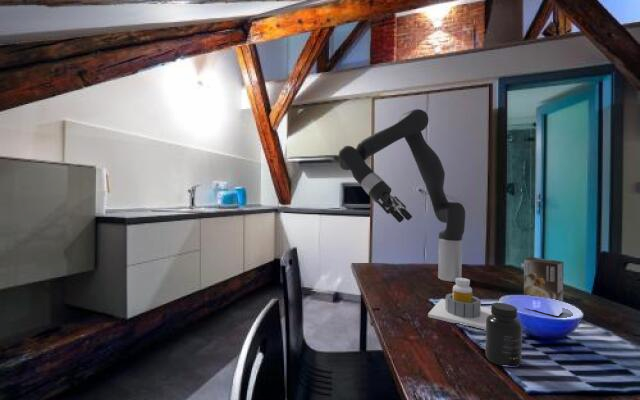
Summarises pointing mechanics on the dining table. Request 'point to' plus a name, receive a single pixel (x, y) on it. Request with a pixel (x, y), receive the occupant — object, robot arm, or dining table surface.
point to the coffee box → (543, 278)
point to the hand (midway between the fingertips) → (406, 219)
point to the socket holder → (461, 312)
